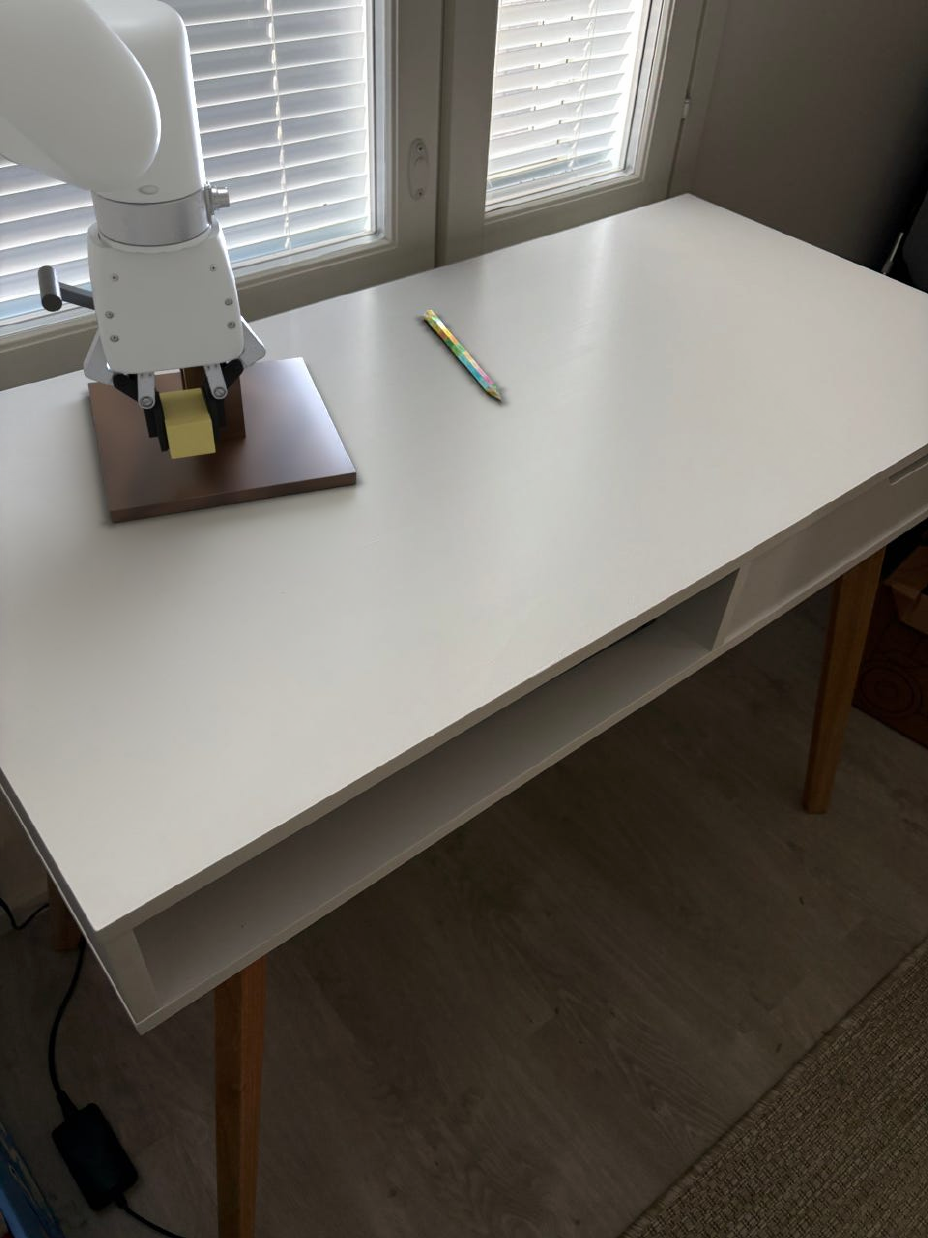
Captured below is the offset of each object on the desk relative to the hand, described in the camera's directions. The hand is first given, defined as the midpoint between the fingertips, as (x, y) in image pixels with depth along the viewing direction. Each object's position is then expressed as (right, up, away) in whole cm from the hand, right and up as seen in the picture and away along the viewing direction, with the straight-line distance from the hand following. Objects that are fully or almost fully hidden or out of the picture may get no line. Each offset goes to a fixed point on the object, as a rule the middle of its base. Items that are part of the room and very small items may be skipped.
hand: (188, 436), depth 81 cm
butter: (0, 0, 0) cm, 0 cm away
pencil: (+22, +11, +21) cm, 33 cm away
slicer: (0, +1, +8) cm, 8 cm away
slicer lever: (-4, +9, -1) cm, 10 cm away
